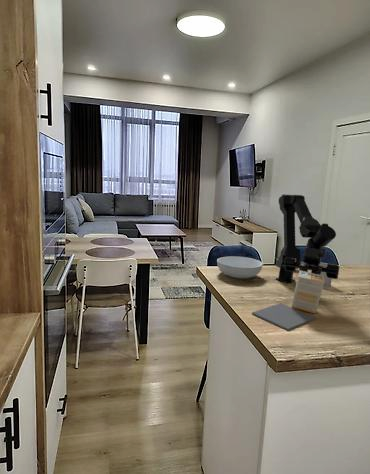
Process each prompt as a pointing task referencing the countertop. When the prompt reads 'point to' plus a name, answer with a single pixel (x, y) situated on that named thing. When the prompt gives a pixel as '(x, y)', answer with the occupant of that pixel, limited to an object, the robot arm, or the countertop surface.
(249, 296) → the countertop surface
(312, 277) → the supplement box
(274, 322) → the mat
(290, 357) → the countertop surface
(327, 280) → the grey angular block
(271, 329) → the countertop surface
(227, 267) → the serving bowl
